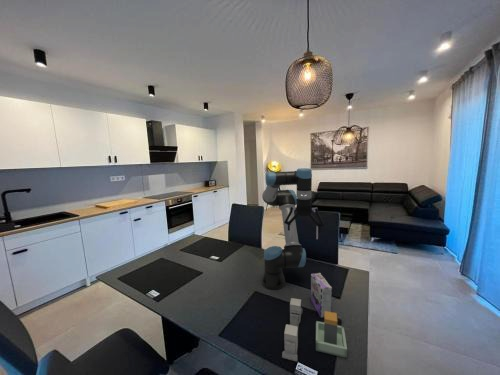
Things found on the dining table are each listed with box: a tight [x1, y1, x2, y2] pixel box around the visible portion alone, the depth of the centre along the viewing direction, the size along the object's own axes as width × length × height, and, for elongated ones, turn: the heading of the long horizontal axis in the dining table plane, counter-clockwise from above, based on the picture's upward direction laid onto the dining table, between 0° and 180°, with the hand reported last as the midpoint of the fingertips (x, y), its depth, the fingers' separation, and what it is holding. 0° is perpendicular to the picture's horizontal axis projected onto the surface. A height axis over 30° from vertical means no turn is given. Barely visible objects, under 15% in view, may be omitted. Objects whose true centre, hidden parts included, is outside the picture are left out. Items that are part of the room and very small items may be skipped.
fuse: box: [323, 311, 338, 345], centre depth 91 cm, size 5×5×12 cm
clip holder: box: [281, 307, 303, 363], centre depth 97 cm, size 6×28×6 cm, turn 162°
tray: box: [315, 320, 348, 359], centre depth 92 cm, size 12×12×4 cm
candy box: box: [310, 272, 333, 318], centre depth 112 cm, size 14×6×16 cm, turn 5°
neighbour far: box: [289, 297, 302, 324], centre depth 106 cm, size 5×5×9 cm
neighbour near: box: [283, 324, 299, 356], centre depth 89 cm, size 5×5×9 cm
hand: (303, 237), depth 111 cm, fingers open, 13 cm apart
